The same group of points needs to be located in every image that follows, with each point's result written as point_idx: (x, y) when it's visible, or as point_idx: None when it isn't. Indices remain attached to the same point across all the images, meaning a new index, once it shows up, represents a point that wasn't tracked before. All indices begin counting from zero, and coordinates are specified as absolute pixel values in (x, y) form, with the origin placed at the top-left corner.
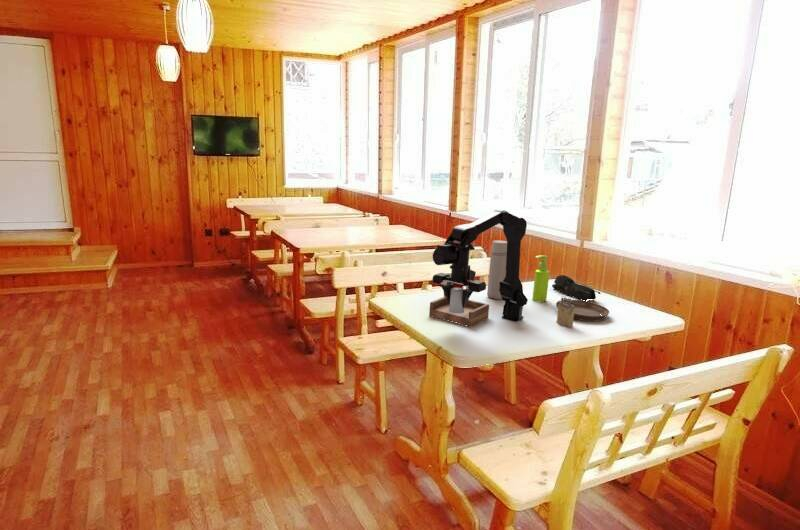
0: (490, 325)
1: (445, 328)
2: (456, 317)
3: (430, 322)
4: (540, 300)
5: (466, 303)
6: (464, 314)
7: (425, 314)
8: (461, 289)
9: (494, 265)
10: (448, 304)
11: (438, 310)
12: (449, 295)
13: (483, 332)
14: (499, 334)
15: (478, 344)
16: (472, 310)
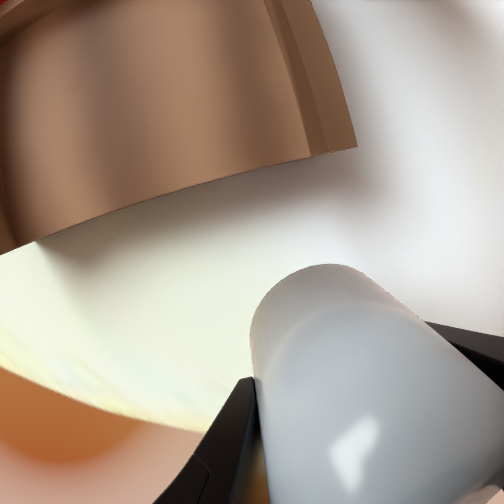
0: (356, 40)
1: (243, 314)
2: (200, 183)
3: (118, 314)
4: None
5: (455, 331)
6: (219, 107)
7: None
8: (475, 485)
9: None
10: (8, 77)
11: (48, 228)
12: (266, 493)
13: (414, 171)
14: (462, 131)
15: (464, 316)
16: (314, 89)
